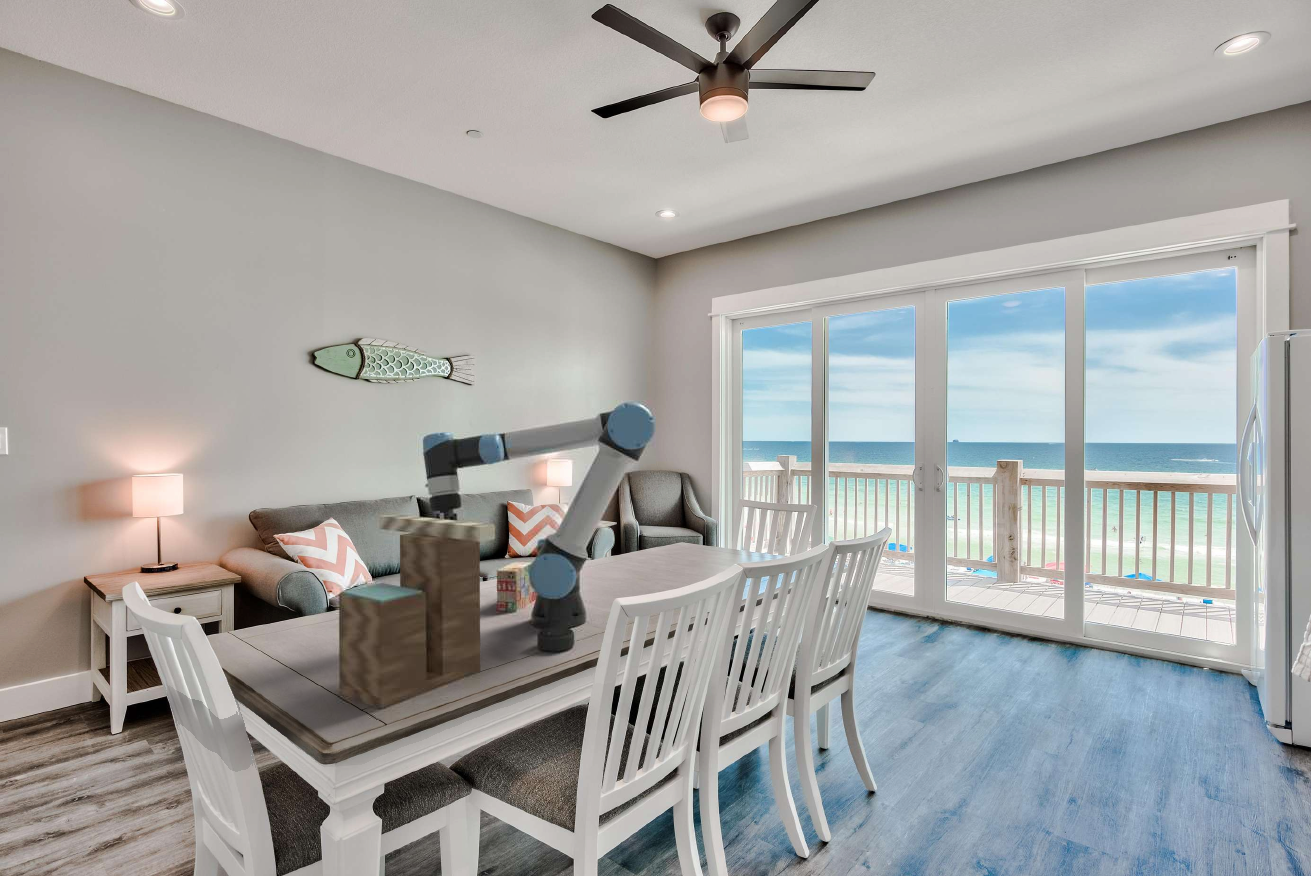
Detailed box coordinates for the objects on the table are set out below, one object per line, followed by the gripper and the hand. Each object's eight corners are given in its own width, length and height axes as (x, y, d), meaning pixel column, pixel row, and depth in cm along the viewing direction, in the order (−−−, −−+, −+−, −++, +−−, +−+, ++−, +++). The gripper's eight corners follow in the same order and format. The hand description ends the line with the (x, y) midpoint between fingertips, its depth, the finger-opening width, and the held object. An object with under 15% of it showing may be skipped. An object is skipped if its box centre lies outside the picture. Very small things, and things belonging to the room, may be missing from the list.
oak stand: (339, 693, 131) (338, 543, 131) (438, 658, 151) (437, 529, 151) (381, 709, 124) (380, 550, 124) (480, 670, 144) (479, 534, 144)
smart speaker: (532, 645, 161) (532, 629, 161) (566, 639, 166) (566, 623, 166) (544, 655, 154) (544, 638, 154) (580, 649, 158) (580, 633, 158)
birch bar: (379, 528, 152) (379, 515, 152) (394, 526, 155) (394, 514, 155) (480, 541, 133) (479, 527, 133) (494, 539, 137) (494, 524, 137)
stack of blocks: (526, 593, 213) (526, 556, 213) (544, 594, 212) (544, 556, 212) (496, 611, 193) (496, 569, 192) (516, 612, 191) (516, 570, 191)
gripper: (439, 498, 177) (449, 577, 175) (417, 494, 152) (428, 586, 150) (467, 494, 178) (477, 572, 176) (450, 489, 153) (461, 580, 151)
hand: (454, 579), depth 163 cm, fingers open, 13 cm apart
